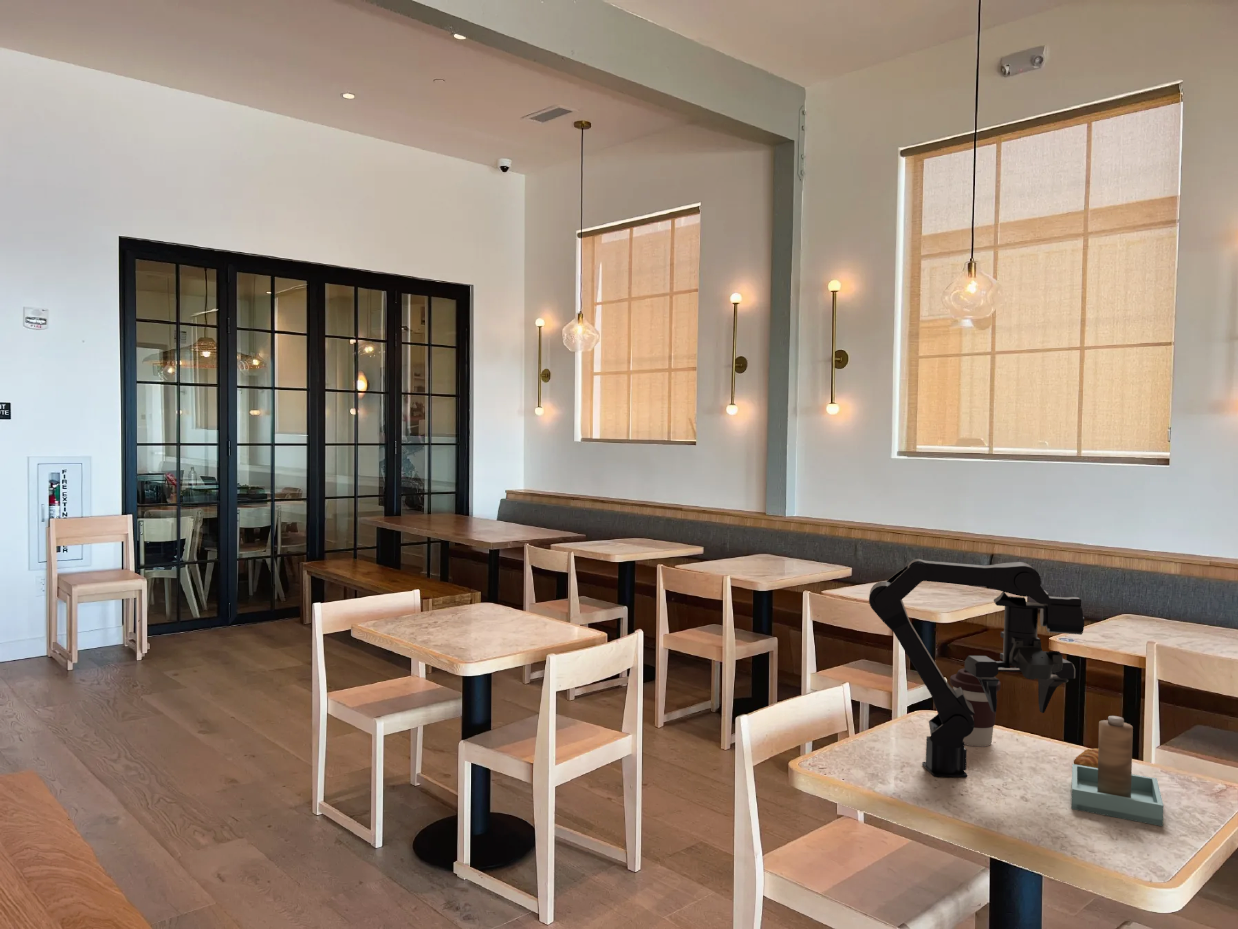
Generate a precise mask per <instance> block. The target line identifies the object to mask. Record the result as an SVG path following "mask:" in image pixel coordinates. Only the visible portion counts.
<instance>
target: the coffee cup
mask: <svg viewBox="0 0 1238 929" xmlns="http://www.w3.org/2000/svg"><path fill="white" fill-rule="evenodd" d="M949 679H950V680H949V683H950V684H949V685H950V686H951V687H952V688H953V689H954V690H956V689H958V688H959V687H961V689H962V691H963V694H964V696H965V698H966V699H967V701H969V702H970V703H971V704H972V707H973V710H974V714H975V715H972V716H973V719H974V724H975V725H974V729H973V731H972V733H971V734H970V735H968V736H967V737H964V739H963V741H964V746H969V745H970V747H977V748H980V747H988V746H990V745H991V744H992V743H993V742H992V741H993V735H994V734H993V732H994V727H995V725H996V715H997V711H996V712H993V711H992V710H991V708H990V705H989V703H988V700H987V697H986V695H985V692H984V690H983V687H982V685H981V683H980V682H979V680H978V678H977V677H975V676H974V675H972V674H971V673H969V672H968V671H966V670H965V667H963V668H959V669H958V671H957V673H955V674H952V675H951V676H950V677H949ZM1001 685H1002V684H1001V681H1000V680H999V682H998V684H997V687H996V688H997V692H999V691H1001Z"/></svg>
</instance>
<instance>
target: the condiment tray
mask: <svg viewBox="0 0 1238 929" xmlns="http://www.w3.org/2000/svg"><path fill="white" fill-rule="evenodd" d="M1071 766H1072V767H1071V768H1072V769H1071V802H1070V808H1071V809H1072V810H1076V811H1081V812H1087V813H1091V814H1097V815H1102V816H1107V817H1111V818H1112V817H1113V818H1117V819H1123V820H1128V821H1133V822H1139V823H1145V824H1149V825H1153V826H1154V825H1155V826H1159V827H1164V802H1163V801H1164V800H1163V797H1162V794H1161V790H1160V785H1159V782H1158V781H1159V780H1158V778H1157V777H1150V776H1145V775H1139V774H1133V773H1132V776H1131V798H1128V797H1122V796H1117V795H1111V794H1106V793H1100V792H1097V787H1098V768H1093V767H1087V766H1081V765H1076V764H1074V763H1072V765H1071Z"/></svg>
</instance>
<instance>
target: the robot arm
mask: <svg viewBox="0 0 1238 929" xmlns="http://www.w3.org/2000/svg"><path fill="white" fill-rule="evenodd" d="M922 582H931V583H941V584H942V583H944V584H953V585H954V584H955V585H965V586H966V585H967V586H974V587H975V586H976V587H977V586H978V587H986V588H991V589H993V590H997V591H1000V592H1001V593H1000V595H998V596H997V597H995V598H994V599H993V602H994V604H995V605H996V606H998V607H1004V613H1003V614H1004V617H1003V619H1004V621H1003V622H1004V623H1003V631H1000V638H1002V639H1003V645H1002V646H1003V650H1002V652H999V659H1000V660H999V661H998V660H997V661H996V660H994V659H992V658H991V657H988V656H987V655H968V656H966V659H965V660H964V668H965V670H966V671H968V672H969V673H971V674H972V675H974V676H975V677H977V678H978V680H979V682H980V683H981V685H982V687H983V690H984V692H985V695H986V697H987V700H988V703H989V705H990V708H991V710H992V711H993V712H996V713H997V708H998V705H997V704H998V695H997V694H998V691H997V688H996V687H997V684H998V682H999V681H1000V679H999V678H997V675H998V674H999V673H1001V672H1002V673H1003V672H1004V673H1005V672H1008V673H1009V672H1011V673H1022V676H1023V677H1024V678H1025V679H1027V680H1035V679H1037V682H1038V684H1037V685H1038V687H1037V689H1038V690H1037V692H1038V697H1037V698H1038V699H1037V700H1038V709H1039V710H1038V711H1039V712H1040V713H1042V714H1045V712H1046V709H1047V708H1048V706H1049V704H1050V701H1051V699H1052V697H1053V695H1054V693H1055V691H1056V689H1058V687H1059V686H1060V685H1062V684H1065V683H1068V682H1069V679H1074V680H1075V679H1076V668H1075V665H1074V664H1073V662H1071V661H1069V660H1067V659H1065V658H1063V654H1062V653H1061V652H1060V651H1059V650H1055V651H1054V650H1049V651H1045V650H1044V651H1043V648H1042V641H1041V638H1040V637H1038V625H1039V624H1038V619H1039V623H1040V627H1043V628H1044V627H1045V629H1046V632H1047V633H1053V634H1066V635H1083V633H1084V629H1085V617H1084V612H1083V606H1082V599H1081V598H1080V597H1078V596H1067V597H1063V596H1062V597H1061V596H1050V595H1049V593H1048V591H1046V590H1045V589H1044V588H1043V587H1042V586H1041V584H1042V580H1041V576H1040V574H1039V573H1038V571H1037V570H1036V569H1035V568H1034V567H1033V566H1031V565H1030V564H1028V563H1026V562H1023V561H1015V562H1014V561H1013V562H1012V561H1011V562H1001V563H995V564H988V565H986V564H985V565H984V564H983V565H981V564H971V563H958V562H957V563H956V562H947V561H933V560H924V559H921V558H915V559H911V561H909V562H908V564H907V565H906V566H904V567H903V568H901V569H900V570H899V571H897V572H896V573H894V574H893V576H891V577H889V578H888V579H887V580H881V581H878V582H876V583H874V584H873V585H872V587H871V588H870V591H869V596H868V602H869V606H870V607H871V609H872V610H873V612H874V613H875V614H876V615H877V617H878V618H879V619H880V620H881V621H882V622H883V623H884V624H885V625H886V626H887V627H888V628H889V629H890V630H891V631H892V632H893V634H894V635H895V637H896V639H897V641H898V642H899V644H900V645H901V647H902V649H903V650H904V652H905V653H906V655H907V657H908V658H909V660H910V662H911V664H912V665H913V667H914V668H915V671H916V673H917V674H918V675H919V678H920V679H921V681H922V682H923V683H924V685H925V687H926V689H927V690H928V692H929V694H930V696H931V698H932V700H933V704H934V707H935V709H936V711H937V714H935V716H934V717H932V718H931V719H930V720H929V721H928V725H929V732H930V735H929V736H926V744H925V748H926V749H925V761H922V766H923V767H924V768H925V769H926V770H927V771H928V772H929V773H930V774H931V775H932V776H933V777H940V778H942V777H943V778H944V777H945V778H949V777H950V778H952V777H953V778H967V777H968V773H967V772H966V770H967V759H968V758H967V757H968V756H967V752H968V751H967V749H966V748H965V744H964V741H963V739H964V737H967V736H968V735H970V734H971V733H972V731H973V729H974V725H975V724H974V719H973V716H972V715H975V714H974V710H973V707H972V704H971V703H970V702H969V701H967V699H966V698H965V696H964V694H963V691H962V689H961V687H959V688H958V689H956V690H954V689H953V686H952V685H951V684H949V683H948V681H947V679H946V678H945V677H944V675H943V674H942V672H941V670H940V669H939V667H938V665H937V663H936V662H935V661H934V658H933V657H932V656H931V653H930V652H929V650H928V649H927V648H926V646H925V644H924V643H923V640H922V638H921V637H920V635H919V634H918V631H916V629H915V627H914V625H913V624H912V622H911V621H910V618H909V615H908V612H907V610H906V606H905V604H904V602H903V599H904V598H906V597H907V596H908V595H909V594H910V593H911V592H912V591H913V590H914V589H916V588H917V586H919V584H921V583H922ZM1008 594H1010V595H1011V596H1009V595H1008ZM1012 595H1014V596H1012ZM1025 597H1026V598H1027V597H1029V598H1030V599H1032V600H1033V601H1035V602H1030V601H1027V600H1026V598H1025ZM1039 610H1040V611H1039ZM1001 660H1002V661H1001Z"/></svg>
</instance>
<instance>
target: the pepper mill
mask: <svg viewBox="0 0 1238 929" xmlns="http://www.w3.org/2000/svg"><path fill="white" fill-rule="evenodd" d="M1133 729H1134V727H1133V725H1131V723H1127V722H1125V719H1124V717H1121V716H1117V715H1109V716H1108V717H1107V719H1106V720H1105V719H1103V720H1099V722H1098V748H1097V749H1098V787H1097V792H1100V793H1106V794H1111V795H1117V796H1122V797H1128V798H1131V776H1132V774H1133V773H1132V772H1133V770H1132V769H1133V766H1132V765H1133V738H1134V737H1133V734H1134V732H1133V731H1134V730H1133Z"/></svg>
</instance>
